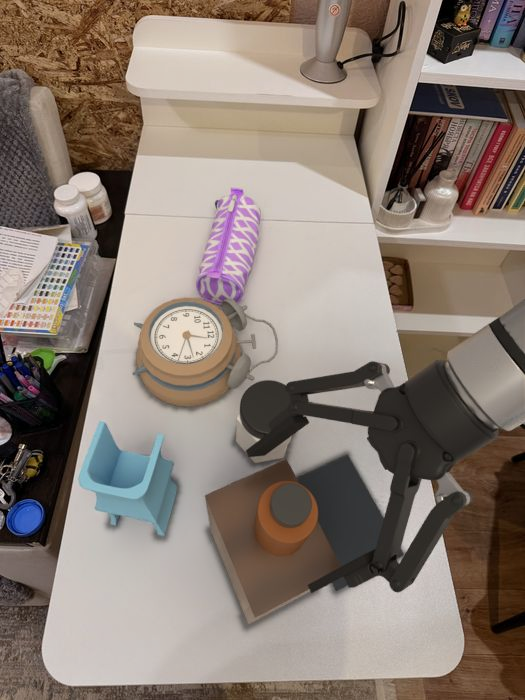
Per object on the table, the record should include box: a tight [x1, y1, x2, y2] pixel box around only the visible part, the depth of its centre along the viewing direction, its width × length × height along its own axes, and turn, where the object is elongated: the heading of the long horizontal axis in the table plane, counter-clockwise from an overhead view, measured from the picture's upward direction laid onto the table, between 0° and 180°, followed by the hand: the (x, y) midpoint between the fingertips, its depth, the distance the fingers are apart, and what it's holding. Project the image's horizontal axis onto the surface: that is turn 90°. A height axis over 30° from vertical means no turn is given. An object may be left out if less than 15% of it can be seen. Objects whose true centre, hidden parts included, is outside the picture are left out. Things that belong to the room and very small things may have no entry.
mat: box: [296, 454, 405, 592], centre depth 74 cm, size 16×11×1 cm
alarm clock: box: [131, 297, 279, 408], centre depth 82 cm, size 17×9×23 cm
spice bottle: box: [254, 481, 318, 556], centre depth 49 cm, size 6×6×11 cm
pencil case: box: [195, 187, 262, 306], centre depth 93 cm, size 22×9×10 cm, turn 173°
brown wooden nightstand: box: [204, 458, 341, 625], centre depth 62 cm, size 13×10×20 cm
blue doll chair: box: [77, 420, 178, 537], centre depth 65 cm, size 8×8×20 cm
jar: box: [235, 379, 293, 464], centre depth 75 cm, size 9×8×12 cm
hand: (284, 515), depth 50 cm, fingers open, 13 cm apart
